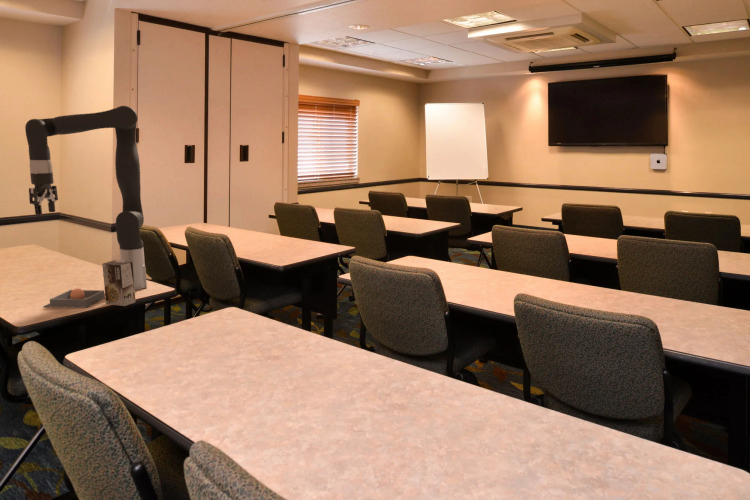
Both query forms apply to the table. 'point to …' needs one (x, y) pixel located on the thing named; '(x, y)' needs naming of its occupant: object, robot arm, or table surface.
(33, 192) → the robot arm
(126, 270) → the coffee box
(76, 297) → the ball
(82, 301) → the bin
